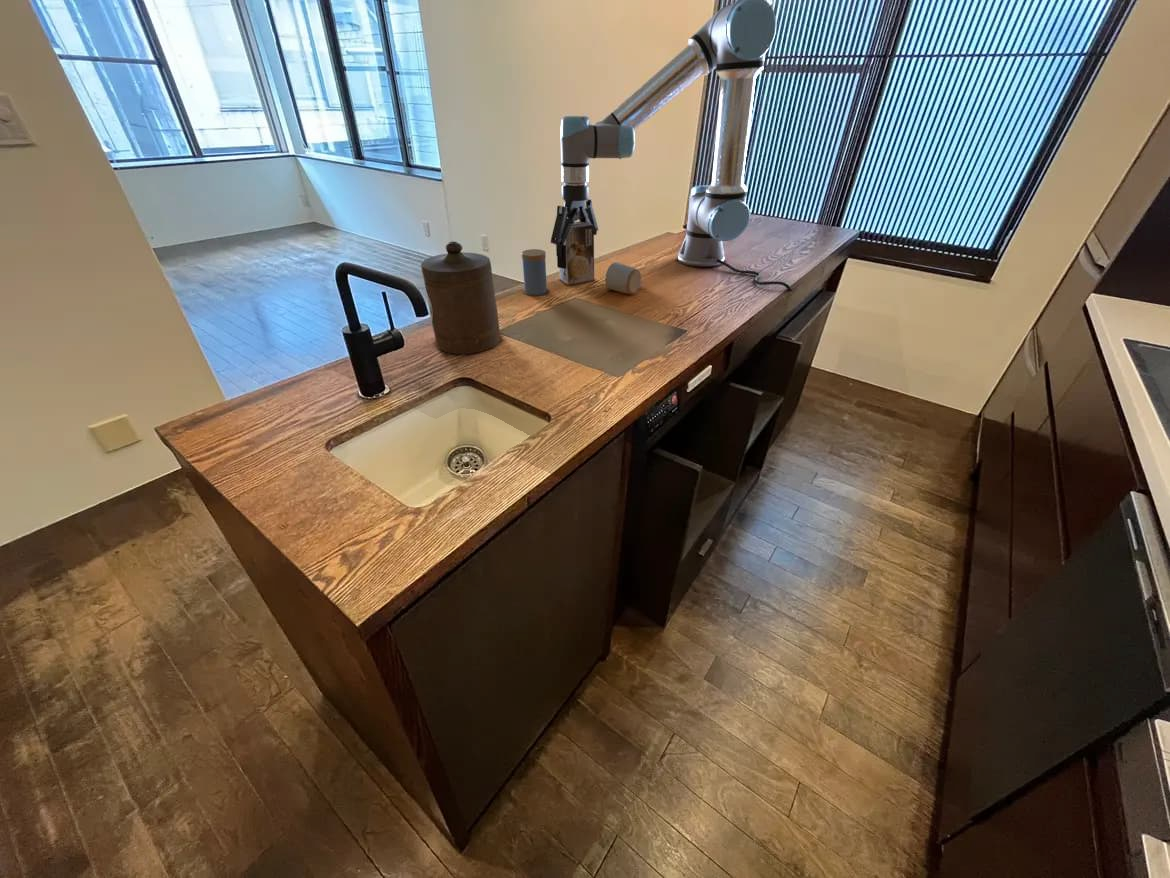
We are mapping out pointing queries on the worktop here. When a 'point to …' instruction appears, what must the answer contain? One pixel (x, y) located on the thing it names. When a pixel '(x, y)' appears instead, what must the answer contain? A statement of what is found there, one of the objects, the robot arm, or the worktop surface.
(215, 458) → the worktop surface
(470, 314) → the wooden container
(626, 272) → the ceramic mug
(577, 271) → the coffee box
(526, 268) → the tea tin
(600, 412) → the worktop surface
